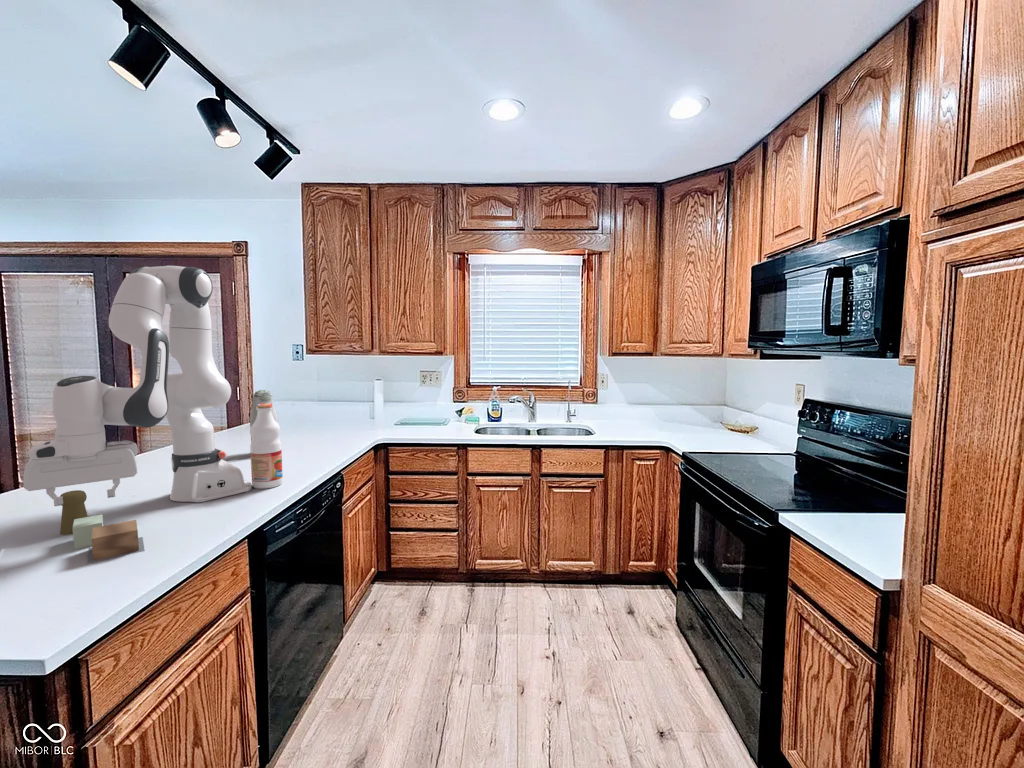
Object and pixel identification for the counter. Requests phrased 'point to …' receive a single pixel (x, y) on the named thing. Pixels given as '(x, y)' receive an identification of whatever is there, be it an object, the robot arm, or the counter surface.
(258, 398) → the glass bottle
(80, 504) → the cork
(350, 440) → the counter surface
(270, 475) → the fruit juice
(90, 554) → the slate coaster
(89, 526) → the sage block
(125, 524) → the walnut base block
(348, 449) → the counter surface
